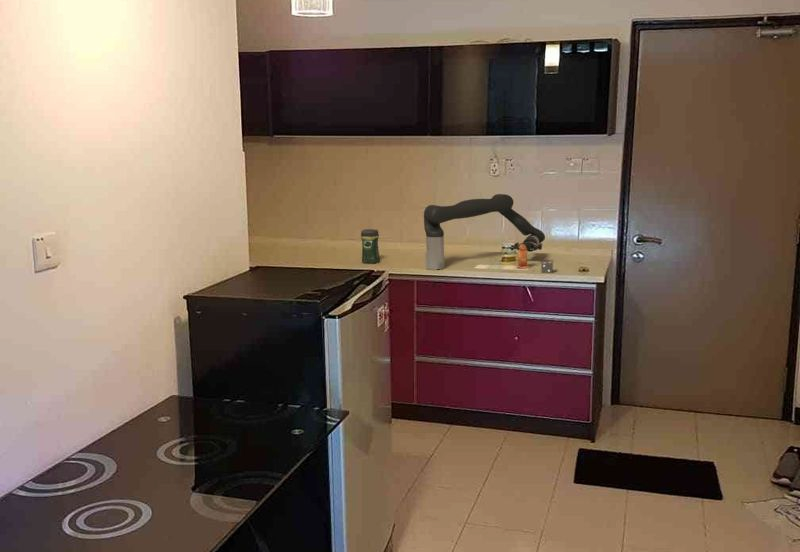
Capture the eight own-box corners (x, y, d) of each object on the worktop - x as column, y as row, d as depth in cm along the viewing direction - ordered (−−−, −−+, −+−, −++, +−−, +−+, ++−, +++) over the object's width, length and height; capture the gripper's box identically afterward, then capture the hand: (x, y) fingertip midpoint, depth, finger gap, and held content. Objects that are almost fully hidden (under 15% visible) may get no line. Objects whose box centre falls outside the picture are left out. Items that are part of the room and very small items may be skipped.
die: (541, 273, 384) (541, 263, 383) (542, 271, 388) (542, 261, 387) (551, 273, 382) (551, 263, 381) (552, 271, 387) (552, 261, 386)
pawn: (515, 268, 388) (515, 244, 386) (517, 266, 394) (517, 243, 391) (527, 269, 386) (527, 245, 384) (529, 266, 392) (529, 243, 389)
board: (472, 271, 392) (472, 268, 392) (477, 266, 403) (477, 264, 403) (528, 273, 383) (528, 270, 383) (532, 268, 394) (532, 265, 394)
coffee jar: (381, 261, 426) (380, 228, 422) (376, 264, 419) (375, 230, 415) (365, 260, 429) (364, 228, 426) (360, 263, 422) (358, 230, 418)
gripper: (517, 236, 415) (512, 241, 400) (544, 236, 410) (540, 241, 395) (517, 249, 416) (512, 255, 401) (544, 250, 412) (539, 256, 397)
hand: (526, 248), depth 398 cm, fingers open, 8 cm apart
